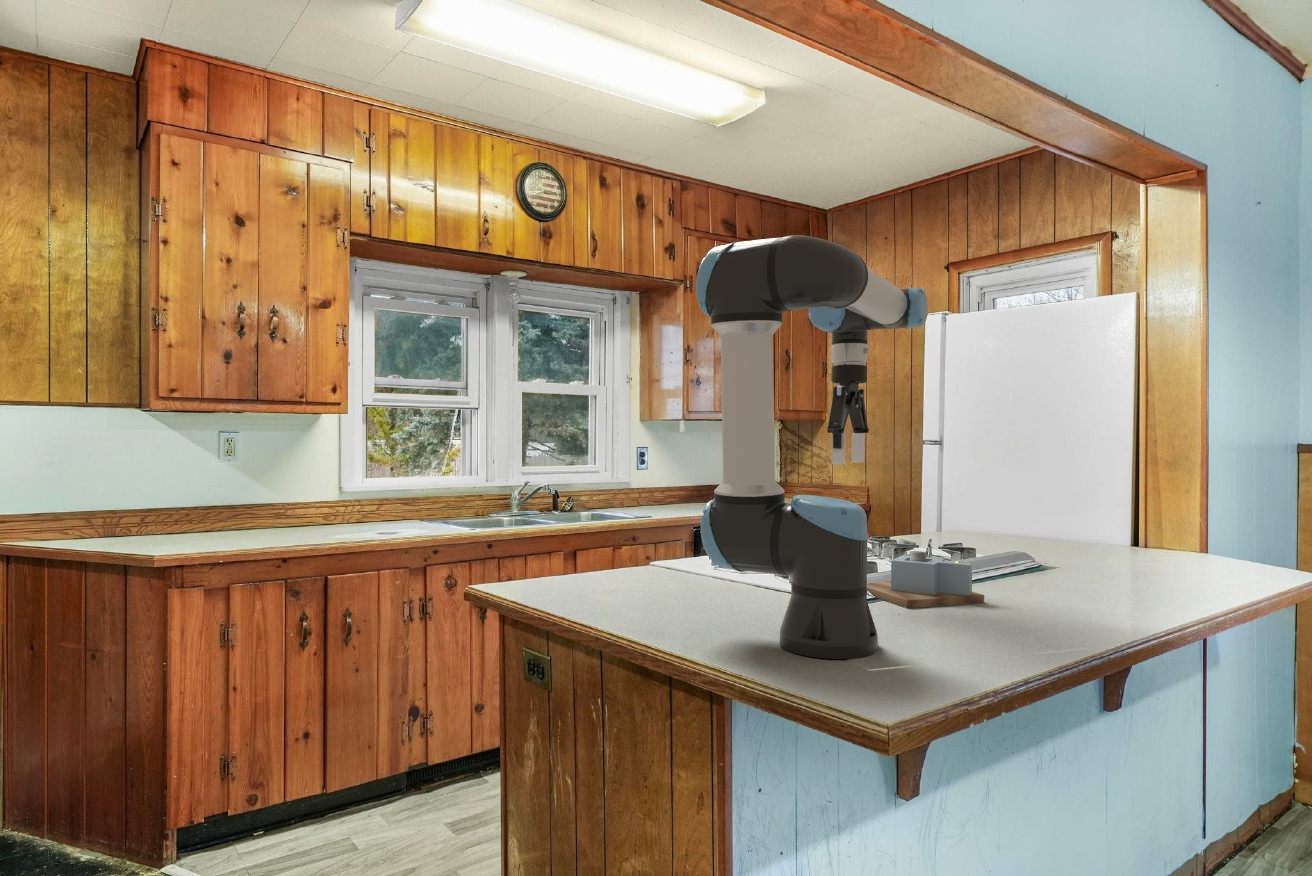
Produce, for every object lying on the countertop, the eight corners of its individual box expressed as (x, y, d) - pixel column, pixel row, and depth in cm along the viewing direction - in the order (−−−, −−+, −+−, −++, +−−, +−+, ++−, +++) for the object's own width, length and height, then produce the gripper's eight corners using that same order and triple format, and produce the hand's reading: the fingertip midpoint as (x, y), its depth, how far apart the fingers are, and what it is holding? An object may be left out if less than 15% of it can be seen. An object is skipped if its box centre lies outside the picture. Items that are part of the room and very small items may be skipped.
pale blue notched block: (891, 589, 164) (891, 560, 164) (902, 583, 171) (903, 555, 171) (965, 598, 156) (966, 567, 156) (975, 591, 163) (975, 561, 163)
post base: (906, 608, 154) (907, 561, 154) (855, 590, 171) (855, 547, 171) (984, 602, 159) (984, 556, 159) (926, 585, 176) (927, 544, 176)
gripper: (848, 359, 161) (847, 466, 161) (882, 368, 182) (881, 462, 182) (812, 361, 164) (811, 465, 165) (849, 369, 186) (849, 461, 186)
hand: (848, 463), depth 173 cm, fingers open, 13 cm apart
